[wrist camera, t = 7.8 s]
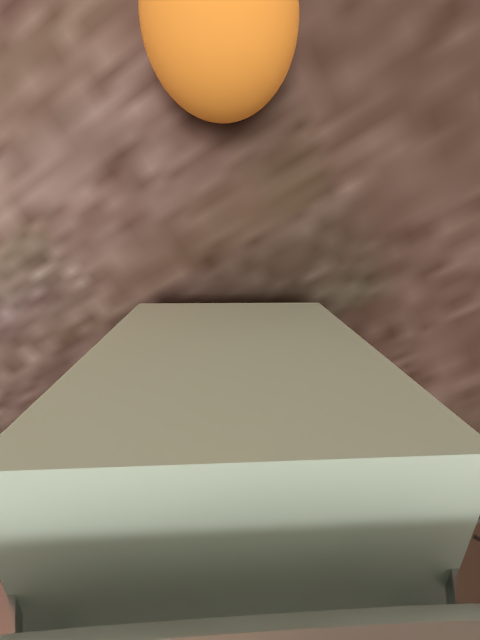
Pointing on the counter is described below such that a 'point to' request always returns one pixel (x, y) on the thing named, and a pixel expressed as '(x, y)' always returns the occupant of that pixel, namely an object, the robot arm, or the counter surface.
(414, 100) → the counter surface
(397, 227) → the counter surface
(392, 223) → the counter surface
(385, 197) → the counter surface
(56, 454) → the pale sage cube
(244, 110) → the ball
